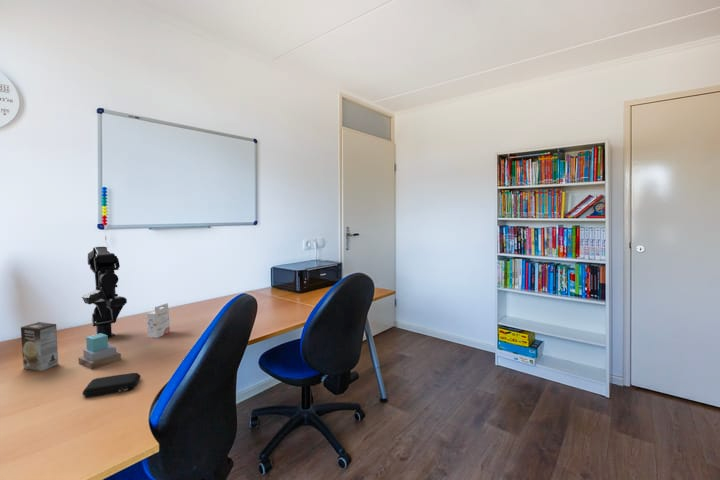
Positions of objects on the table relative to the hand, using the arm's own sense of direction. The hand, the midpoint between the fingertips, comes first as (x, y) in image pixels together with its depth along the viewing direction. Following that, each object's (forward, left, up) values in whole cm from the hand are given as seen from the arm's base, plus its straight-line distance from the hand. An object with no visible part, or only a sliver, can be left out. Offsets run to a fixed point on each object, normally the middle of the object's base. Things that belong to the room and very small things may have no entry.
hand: (108, 318), depth 146 cm
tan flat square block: (+12, -9, -14) cm, 20 cm away
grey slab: (+12, -9, -11) cm, 18 cm away
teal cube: (+11, -10, -8) cm, 17 cm away
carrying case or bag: (+39, -18, -14) cm, 45 cm away
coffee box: (-3, -22, -13) cm, 26 cm away
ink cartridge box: (+2, +20, -13) cm, 24 cm away
